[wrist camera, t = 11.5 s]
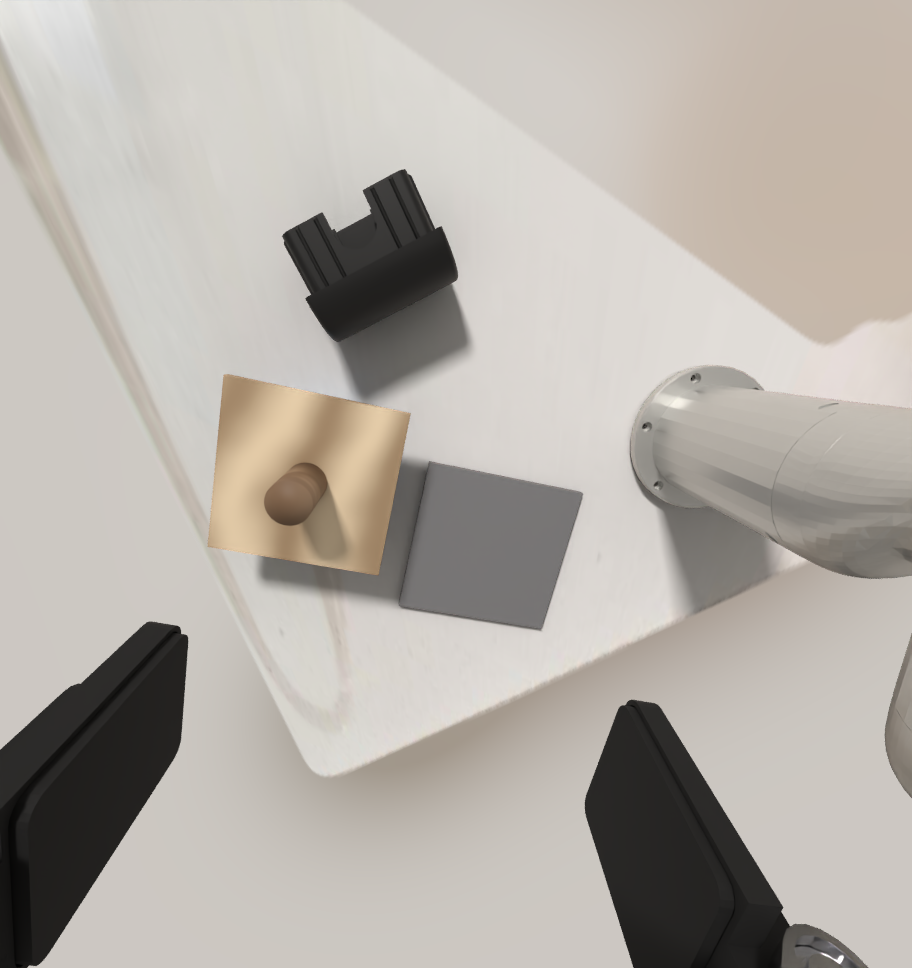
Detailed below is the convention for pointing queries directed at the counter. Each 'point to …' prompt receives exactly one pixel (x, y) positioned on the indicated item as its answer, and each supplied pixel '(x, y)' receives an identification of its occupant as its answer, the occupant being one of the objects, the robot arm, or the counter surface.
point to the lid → (304, 475)
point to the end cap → (372, 259)
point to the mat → (487, 546)
